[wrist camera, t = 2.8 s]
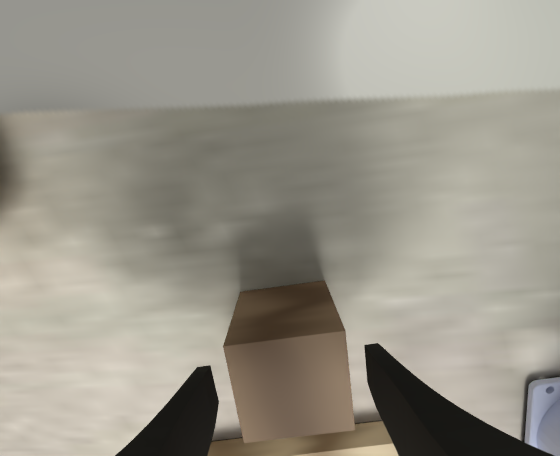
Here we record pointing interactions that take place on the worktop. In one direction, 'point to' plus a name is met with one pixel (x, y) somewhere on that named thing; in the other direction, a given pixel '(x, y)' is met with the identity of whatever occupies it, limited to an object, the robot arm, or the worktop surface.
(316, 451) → the oak board
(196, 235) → the worktop surface
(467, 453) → the robot arm
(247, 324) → the walnut cube
